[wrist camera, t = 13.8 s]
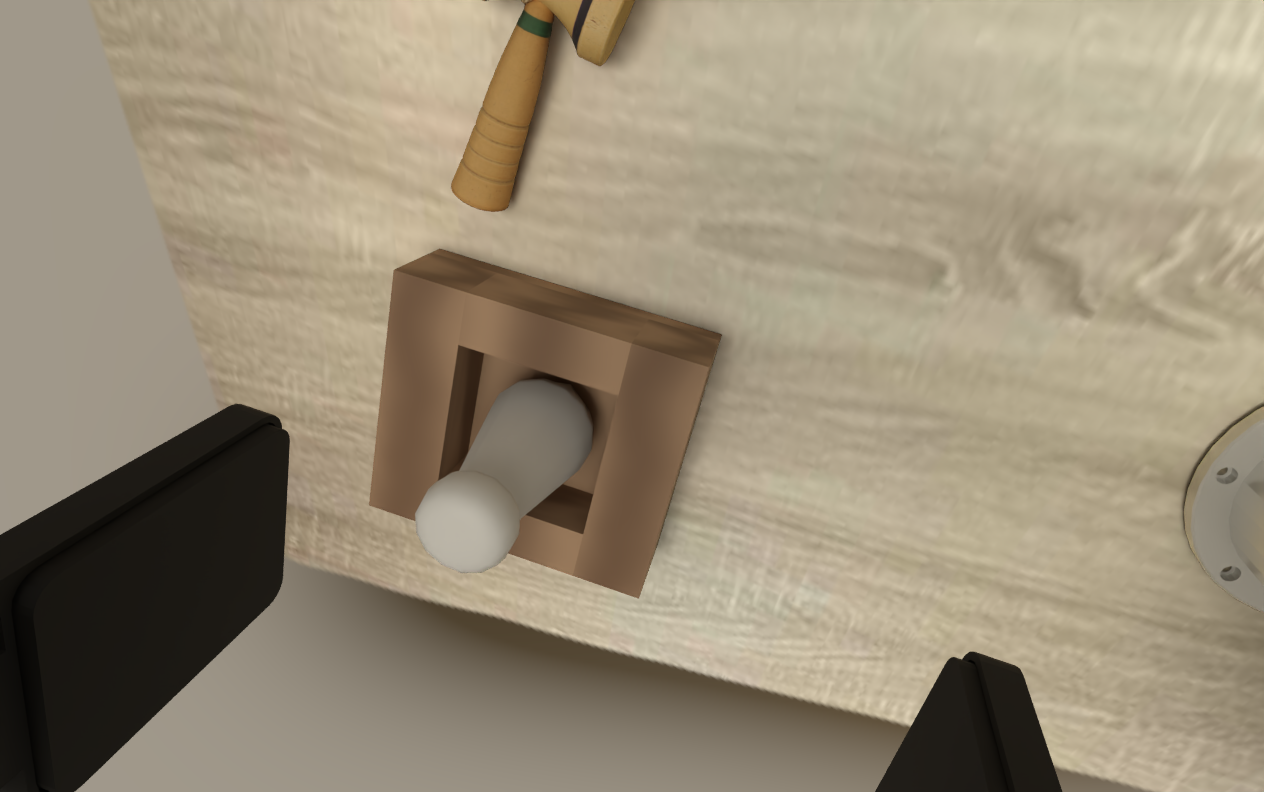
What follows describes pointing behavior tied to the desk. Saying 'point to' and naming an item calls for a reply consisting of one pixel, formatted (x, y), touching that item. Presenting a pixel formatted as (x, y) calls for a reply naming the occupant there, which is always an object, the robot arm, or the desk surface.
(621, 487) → the socket block
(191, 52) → the desk surface
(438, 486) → the grey rounded peg
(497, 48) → the desk surface
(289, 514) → the desk surface
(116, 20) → the desk surface
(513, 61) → the kendama
